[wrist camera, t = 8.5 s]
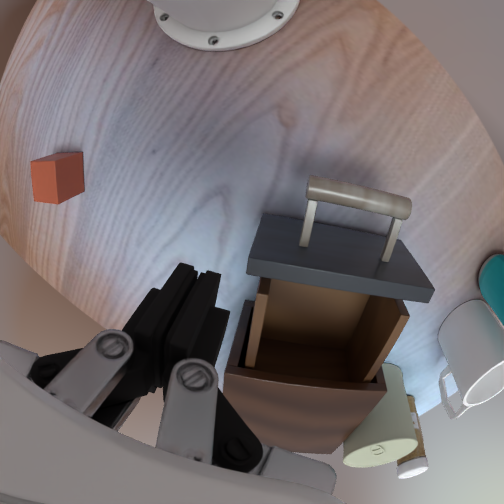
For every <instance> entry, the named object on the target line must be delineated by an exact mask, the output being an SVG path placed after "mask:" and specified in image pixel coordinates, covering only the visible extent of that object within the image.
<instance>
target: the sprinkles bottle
mask: <svg viewBox="0 0 504 504" xmlns="http://www.w3.org/2000/svg"><path fill="white" fill-rule="evenodd" d="M407 399H408V403H409V407H410V412H411V416H412V420H413V425H414V429H415V434H416V438H417V441H418V445H417V447H416V448H415V449H414V450H413V451H412V452H411V453H409V454H408V455H406V456H404V457H402V458H400V459H398V460H397V464H398V465H397V466H398V467H397V475H398V478H409V477H412V476H416V475H418V474H421V473H422V472H424V471H426V470H427V469H428V461H427V458H426V455H425V450H424V444H423V436H422V431H421V426H420V422H419V417H418V414H417V411H416V407H415V403H414V402H415V399H414V398H413V397H412V396H407Z"/></svg>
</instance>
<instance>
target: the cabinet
mask: <svg viewBox="0 0 504 504" xmlns="http://www.w3.org/2000/svg"><path fill="white" fill-rule="evenodd" d="M254 306H255V302H254V301H249V300H245V301H244V305H243V308H242V312H241V316H240V319H239V323H238V326H237V330H236V333H235V337H234V341H233V344H232V348H231V351H230V355H229V358H228V362H227V365H226V369H225V372H224V384H223V395H224V396H225V397H226V399H227V400H228V401H229V403H230V404H231V405H232V407H233V408H234V409H235V411H236V412H237V413H238V414H239V416H240V417H241V418H242V420H243V421H244V422H245V423H246V425H247V426H248V427H249V428H250V430H251V431H252V432H253V433H254V434H255V436H256V437H257V438H258V439H259V441H260V443H263V444H265V445H268V446H270V447H272V446H276V447H279V448H281V449H284V450H287V451H290V452H299V453H315V454H332V452H334V451H335V450H336V448H338V447H339V446H340V445H341V444H342V443H343V442H344V441H345V440H346V439H347V438H348V437H349V436H350V434H351V433H352V432H353V431H354V430H355V429H356V428H357V427H358V426H359V425H360V424H361V423H362V421H363V420H364V419H365V418H366V417H367V416H368V415H369V413H370V412H371V411H372V410H373V409H374V408H375V406H376V405H377V404H378V403H379V402H380V400H381V399H382V398H383V397H384V395H385V394H386V393H387V386H386V382H385V377H384V373H383V368H382V365H381V367H380V368H379V370H378V371H377V373H376V375H375V376H374V378H373V379H372V380H371V382H370V383H357V382H343V381H331V380H321V379H311V378H303V377H295V376H288V375H281V374H274V373H268V372H262V371H256V370H251V369H246V368H244V366H245V360H246V354H247V348H248V342H249V336H250V330H251V324H252V318H253V312H254Z"/></svg>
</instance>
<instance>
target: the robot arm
mask: <svg viewBox="0 0 504 504" xmlns="http://www.w3.org/2000/svg"><path fill="white" fill-rule="evenodd" d="M147 1H148V2H150V3H152V4H153V7H154V15H155V18H156V20H157V23H158V25H159V26H160V27H161V29H162V30H163V31H164V33H166V34H167V35H168V36H169V37H171V38H172V39H173V40H175V41H177V42H179V43H180V44H183V45H185V46H188V47H190V48H194V49H199V50H204V51H226V50H234V49H239V48H243V47H247V46H250V45H252V44H255V43H258V42H260V41H262V40H264V39H266V38H268V37H269V36H271V35H273V34H275V33H276V32H277V31H278V30H280V29H281V28H282V27H283V26H285V24H286V23H287V22H288V21H289V20H290V19H291V18H292V16H293V15H294V13H295V11H296V9H297V7H298V5H299V1H300V0H147ZM278 16H279V17H281V19H275V18H276V17H278ZM167 18H168V19H167ZM215 41H218V43H217V44H215V45H214V44H213V43H214V42H215ZM197 276H198V271H195V270H194V266H191V265H188V264H184V263H179V264H178V266H177V267H176V269H175V270H174V271H173V273H172V274H171V276H170V277H169V279H168V280H167V281H166V283H165V284H164V286H163V287H162V289H161V290H159V289H156V288H152V289H151V290H150V291H149V293H148V294H147V295H146V297H145V298H144V300H143V301H142V302H141V304H140V305H139V306H138V308H137V309H136V311H135V312H134V314H133V315H132V316H131V318H130V319H129V321H128V322H127V323H126V325H125V326H124V328H123V329H122V331H121V330H116V329H108V330H104V331H102V332H100V333H99V334H97V335H96V336H95V337H94V338H93V339H92V340H91V341H90V342H89V343H88V344H87V345H86V346H85V347H84V348H81V349H76V350H71V351H66V352H61V353H56V354H51V355H46V356H43V357H39V356H38V354H37V353H34V352H31V351H28V350H26V349H23V348H21V347H18V346H15V345H13V344H11V343H8V342H6V341H2V340H0V504H346V503H345V502H343V501H342V500H340V499H338V498H337V497H335V496H333V495H332V493H333V491H334V487H335V484H336V473H335V471H334V469H333V468H332V467H331V466H330V465H328V464H326V463H324V462H321V461H317V460H314V459H311V458H308V457H305V456H302V455H298V454H295V453H293V452H290V451H287V450H284V449H281V448H279V447H276V446H272V447H270V446H268V445H265V444H263V443H260V441H259V439H258V438H257V437H256V436H255V434H254V433H253V432H252V431H251V430H250V428H249V427H248V426H247V425H246V423H245V422H244V421H243V420H242V418H241V417H240V416H239V414H238V413H237V412H236V411H235V409H234V408H233V407H232V405H231V404H230V403H229V401H228V400H227V399H226V397H225V396H224V395H223V393H222V392H221V391H220V389H219V388H218V374H217V371H216V369H215V368H214V367H215V364H216V361H217V357H218V354H219V351H220V348H221V345H222V341H223V338H224V335H225V331H226V327H227V323H228V319H229V315H230V311H228V310H224V309H221V308H217V307H215V303H216V298H217V293H218V288H219V283H220V278H221V274H219V273H215V272H212V271H208V270H207V272H206V273H202V272H201V273H200V275H199V277H198V279H197ZM157 387H159V388H162V387H163V400H164V408H163V412H162V417H161V422H160V427H159V432H158V437H157V443H156V447H152V446H150V445H147V444H145V443H142V442H140V441H137V440H135V439H133V438H130V437H128V436H126V435H124V434H121V433H119V432H118V430H119V429H120V428H121V426H122V425H123V423H124V422H125V421H126V419H127V418H128V416H129V415H130V414H131V412H132V410H133V409H134V408H135V406H136V405H137V404H138V402H139V400H140V398H141V397H142V396H145V395H147V394H148V392H152V393H155V391H156V388H157Z"/></svg>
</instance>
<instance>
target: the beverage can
mask: <svg viewBox="0 0 504 504" xmlns="http://www.w3.org/2000/svg"><path fill="white" fill-rule="evenodd" d="M478 281H479V286H480V290H481V294H482V296H483V297H484V299H485V300H486V301H487V303H488V304H489V305H490V307H491V308H492V310H493V311H494V312H495V314H496V315H497V317H498V318H499V319H500V321H501V322H502V324H503V325H504V255H502V254H495V255H492V256H490V257H489V258H488V259H487V260H486V261H485V262H484V264H483V265H482V267H481V269H480V272H479V278H478Z"/></svg>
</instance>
